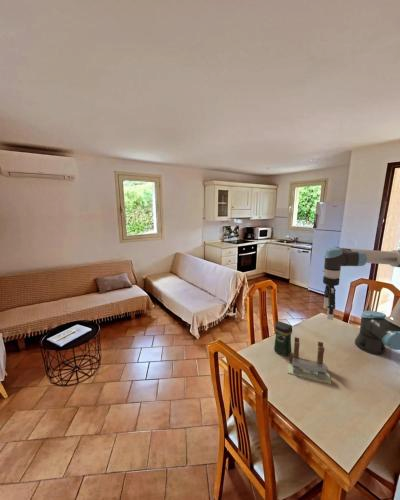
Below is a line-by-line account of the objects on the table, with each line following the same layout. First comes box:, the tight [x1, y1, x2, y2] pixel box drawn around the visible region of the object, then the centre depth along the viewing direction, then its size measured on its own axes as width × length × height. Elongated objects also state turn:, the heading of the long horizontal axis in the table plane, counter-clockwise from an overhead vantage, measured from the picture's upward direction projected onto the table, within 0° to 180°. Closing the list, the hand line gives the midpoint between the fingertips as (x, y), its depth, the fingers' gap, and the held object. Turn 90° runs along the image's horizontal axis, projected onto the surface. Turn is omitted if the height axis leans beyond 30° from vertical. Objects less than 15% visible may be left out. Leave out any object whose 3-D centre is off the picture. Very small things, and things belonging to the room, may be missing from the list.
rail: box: [291, 358, 328, 374], centre depth 115 cm, size 16×3×3 cm, turn 68°
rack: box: [289, 336, 326, 365], centre depth 122 cm, size 18×6×13 cm, turn 68°
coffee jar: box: [273, 320, 293, 357], centre depth 133 cm, size 10×8×19 cm
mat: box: [287, 363, 332, 385], centre depth 116 cm, size 20×7×3 cm, turn 68°
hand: (328, 313), depth 121 cm, fingers open, 13 cm apart
